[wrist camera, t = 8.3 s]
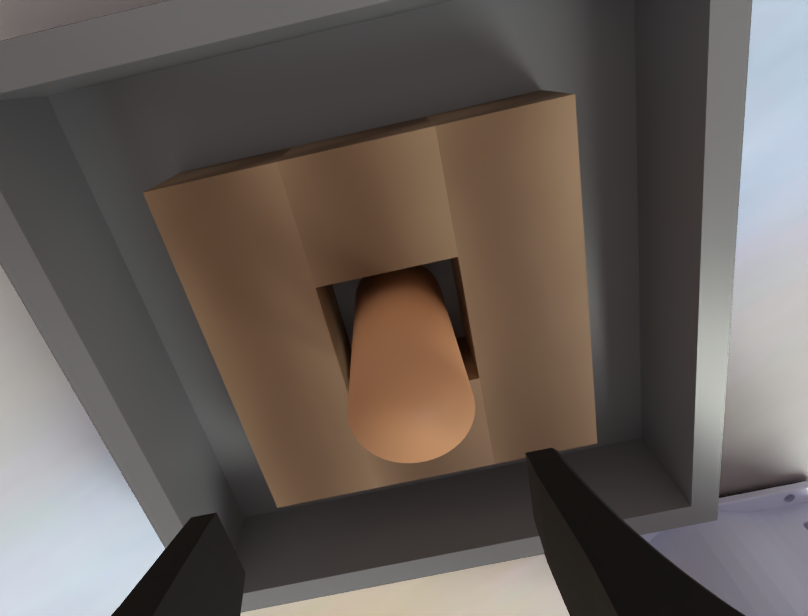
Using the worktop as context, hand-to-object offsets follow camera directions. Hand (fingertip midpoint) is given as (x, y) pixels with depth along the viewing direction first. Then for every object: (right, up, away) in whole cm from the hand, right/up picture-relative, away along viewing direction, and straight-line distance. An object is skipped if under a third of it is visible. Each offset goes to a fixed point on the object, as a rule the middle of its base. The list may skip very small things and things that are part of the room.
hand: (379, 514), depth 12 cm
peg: (0, +5, +7) cm, 9 cm away
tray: (0, +5, +8) cm, 10 cm away
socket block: (0, +5, +8) cm, 10 cm away
